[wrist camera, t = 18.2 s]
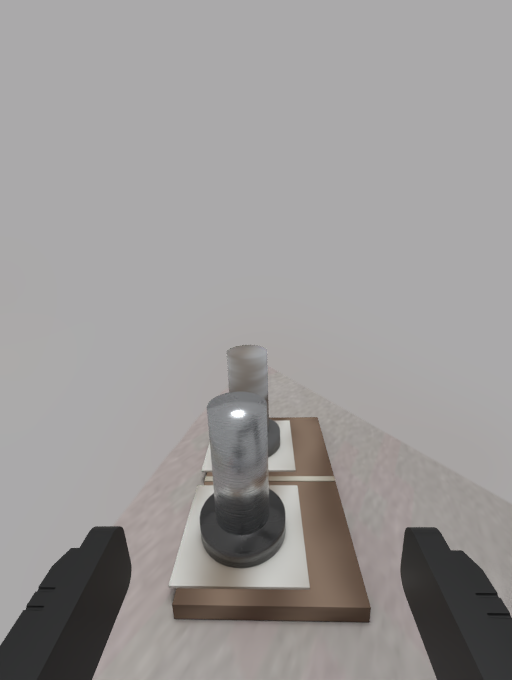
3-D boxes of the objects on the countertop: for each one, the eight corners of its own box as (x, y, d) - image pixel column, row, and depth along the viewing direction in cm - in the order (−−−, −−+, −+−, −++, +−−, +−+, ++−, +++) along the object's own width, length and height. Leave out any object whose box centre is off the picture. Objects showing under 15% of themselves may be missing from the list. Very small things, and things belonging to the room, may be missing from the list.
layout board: (317, 425, 41) (319, 334, 38) (369, 621, 20) (386, 454, 16) (217, 426, 41) (211, 336, 38) (166, 618, 20) (141, 456, 17)
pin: (283, 496, 28) (282, 384, 25) (288, 568, 22) (287, 430, 19) (209, 496, 28) (199, 385, 25) (192, 567, 22) (177, 431, 19)
